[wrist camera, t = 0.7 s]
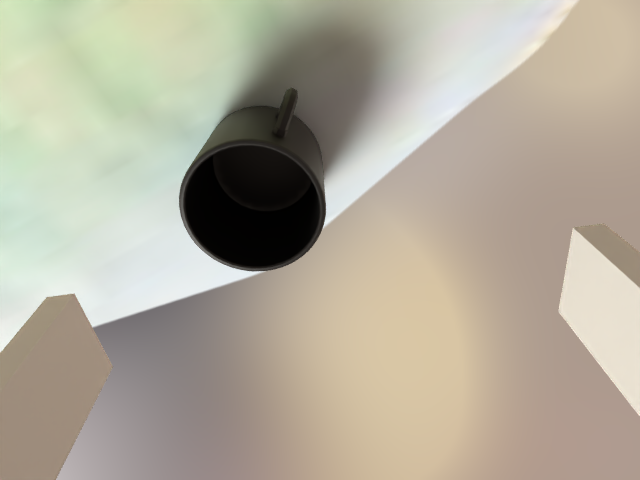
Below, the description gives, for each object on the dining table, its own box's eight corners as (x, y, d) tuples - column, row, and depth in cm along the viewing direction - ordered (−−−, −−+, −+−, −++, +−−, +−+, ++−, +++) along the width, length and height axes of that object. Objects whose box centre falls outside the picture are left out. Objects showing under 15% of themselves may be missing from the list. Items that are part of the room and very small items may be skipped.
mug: (353, 100, 34) (367, 134, 26) (298, 228, 39) (295, 288, 31) (235, 51, 32) (211, 71, 24) (194, 192, 37) (163, 247, 29)
